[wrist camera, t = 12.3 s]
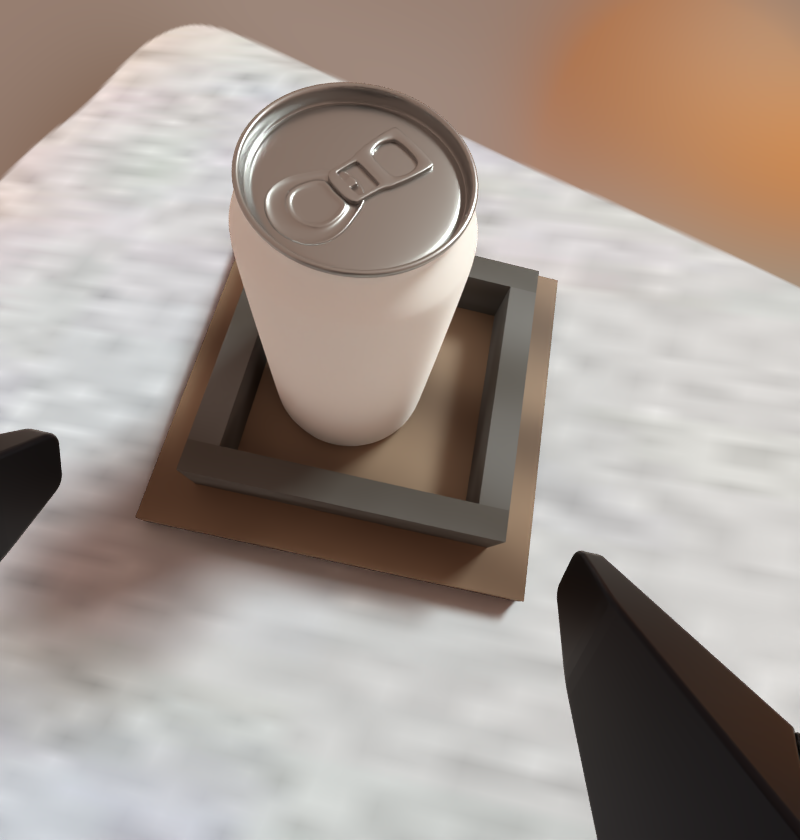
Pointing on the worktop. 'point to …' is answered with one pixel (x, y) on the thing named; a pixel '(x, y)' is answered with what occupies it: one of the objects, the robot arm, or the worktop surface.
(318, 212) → the can
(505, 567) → the socket
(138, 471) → the worktop surface
